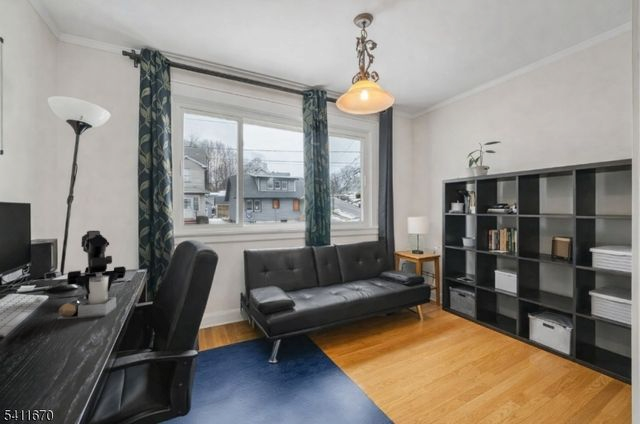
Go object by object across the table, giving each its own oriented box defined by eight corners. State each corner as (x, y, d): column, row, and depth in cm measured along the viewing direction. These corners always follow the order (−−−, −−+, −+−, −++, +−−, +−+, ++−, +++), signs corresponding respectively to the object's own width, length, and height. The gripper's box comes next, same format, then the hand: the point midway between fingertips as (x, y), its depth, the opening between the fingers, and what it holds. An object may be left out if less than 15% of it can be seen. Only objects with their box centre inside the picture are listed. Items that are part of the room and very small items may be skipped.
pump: (87, 307, 110) (88, 273, 110) (105, 304, 114) (106, 271, 114) (89, 311, 106) (90, 275, 106) (108, 307, 110) (109, 273, 110)
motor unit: (71, 310, 111) (72, 296, 111) (116, 307, 116) (116, 294, 116) (56, 319, 102) (57, 304, 102) (105, 315, 107) (106, 301, 107)
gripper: (68, 251, 106) (68, 285, 98) (125, 248, 119) (129, 277, 111) (67, 268, 112) (66, 301, 104) (122, 263, 125) (125, 292, 117)
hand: (98, 292), depth 109 cm, fingers closed on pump, 6 cm apart
